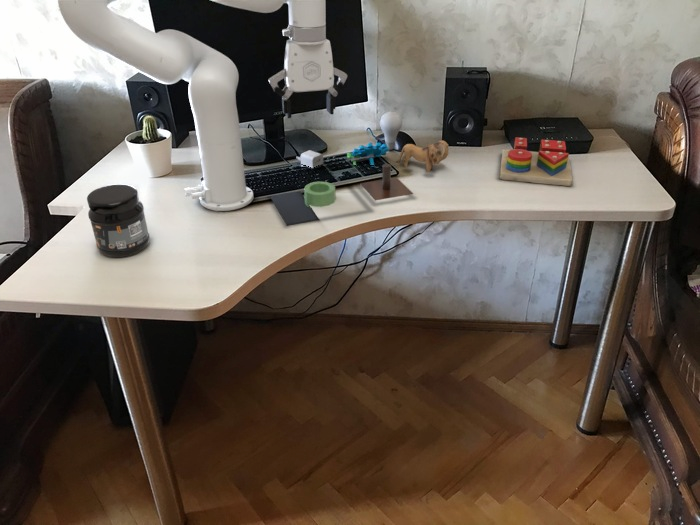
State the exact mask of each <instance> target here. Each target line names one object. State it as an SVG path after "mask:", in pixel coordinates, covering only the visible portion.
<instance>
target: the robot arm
mask: <svg viewBox="0 0 700 525" xmlns="http://www.w3.org/2000/svg"><path fill="white" fill-rule="evenodd" d="M120 1H121V0H57V4H58V8H59V11H60V14H61V16H62V19H63V20H64V22H65V24H66V26H67V27H68V28H69V30H70V31H71V32H72V33H73V34H74V35H75V36H76V37H77V38H78V39H79V40H81V41H82V42H83V43H84V44H87V45H88V46H89V47H92V49H93V48H94V49H95V50H97V51H99V52H101V53H103V54H105V55H107V56H109V57H111V58H112V59H115V60H116V61H118V62H120V63H122V64H124V65H126V67H127V66H128V67H129V68H131V69H133V70H135V71H137V72H138V73H140V74H143V75H145V76H146V77H148V78H149V79H152V80H153V81H156V82H157V83H160V84H163V85H173V84H176V83H178V82H179V81H180V80H184V81H185V82H187V83H189V84H188V99H189V103H190V107H191V108H190V109H191V112H192V115H193V120H194V126H195V132H196V138H197V143H198V150H199V157H200V164H201V171H202V177H203V180H201V184H198V185H197V186H195V187H194V186H193V187H185V188H184V194H185V197H191V199H192V200H196V199H199V203H200V205H201V206H202V207H204V208H205V209H207V210H211V211H215V212H228V211H234V210H239V209H242V208H244V207H247V206H248V205H249V204H251V203H252V201H253V200H254V191H253V190H252V189H251V188H250V187H248V186H247V184H246V175H245V174H246V173H245V165H244V156H243V147H242V146H243V145H242V137H241V128H240V119H239V113H238V108H237V99H236V98H237V97H236V96H237V94H236V93H237V89H238V85H239V78H240V77H239V76H240V74H239V71H238V68H237V66H236V64H235V63H234V62H233V60H232V59H230V58H229V57H228V56H227V55H225V54H223V53H222V52H220V51H218V50H217V49H215V48H212V47H211V46H209V45H208V44H206V43H204V42H202V41H200V40H198V39H197V38H194V37H193V36H191V35H189V34H187V33H185V32H183V31H180V30H176V29H170V28H168V29H163V30H160V31H157V32H155V31H153V30H150V29H148V28H146V27H145V26H142V25H140V24H139V23H138V22H137V21H134V20H132V19H130V18H127V17H125V16H123V15H120V14H117V13H115V12H114V11H113V10H111V9H110V8H111V7H113V6H114V5H115V4H117V3H118V2H120ZM210 1H212V2H215V3H217V4H221V5H224V6H228V7H231V8H235V9H240V10H246V11H250V12H256V13H260V14H261V13H263V14H268V13H274V12H276V11H278V10H280V9H281V7H282V6H283V5H284V4H287V5H288V24H287V25H288V26H287V28H282V31H281V32H282V36H283V37H288V38H289V39H287V40H286V44H285V49H284V50H285V51H284V64H283V69H282V70H280V71H279V72H277V73H276V74H274V75H272V76H271V77H269V78H268V82H269V84H270V86H271V88H272V90H273V92H274V93H275V94H276V95H278V97H280V98H281V105H282V107H281V108H282V113H283V115H285V116H286V118H287V119H291V118H292V101H291V99H290V97H291V96H292V95H293V93H304V92H305V93H306V92H307V93H308V92H318V91H327V93H326V112H328V114H330V115H334V113H335V112H334V110H336V98H337V96H338V94H339V92H340V91H341V90H342V89H343V88H344V85H345V83H346V80H347V79H348V74H347V73H346V72H344V71H343V70H340V69H338V68H337V67H334V62H333V60H334V59H333V52H332V46H331V41H330V40H329V39H327V35H326V34H327V25H326V24H327V23H326V20H327V18H326V17H327V16H326V15H327V14H326V12H327V11H326V9H327V8H326V0H210ZM335 76H336V77H338V79H337V81H336V82H335ZM283 79H284V84H285V85H284V87H283V89H281V87H280V86H279V84H278V83H279V82H280V81H281V80H282V81H283Z"/></svg>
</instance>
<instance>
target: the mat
mask: <svg viewBox="0 0 700 525" xmlns="http://www.w3.org/2000/svg"><path fill="white" fill-rule="evenodd" d="M269 197H270V199H271V201H272V202H273V204H274V206H275V207H276V209H277V212H278V213H279V215H280V216H281V218H282V220H283V221H284V224H285V225H286V226H293V225H299V224H304V223H310V222H316V221H320V218H319V217H318V215H317V214H316V212H315V211H314V209H313V208H312V207H311V208H309V207H307V206H306V204H305V196H304V194H303V193H302V192H301V191H299V190H298V191H293V192H288V193H287V192H286V193H281V194H275V195H270V196H269Z"/></svg>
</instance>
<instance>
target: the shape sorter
mask: <svg viewBox="0 0 700 525" xmlns="http://www.w3.org/2000/svg"><path fill="white" fill-rule="evenodd" d="M527 149H528V138H527V137H517V136H516V137H515V138H514V146H513V149H507V148H503V149H502V153H501V161H500V162H501V163H500V170H499V171H500V172H499V179H500V180H504V181H512V182H523V183H534V184H542V185H543V184H545V185H554V186H563V187H564V186H566V187H571V186H572V185H573V174H572V168H571V160H570V153H569V152H566V151H567V146H566V141H565V140H555V139H554V140H553V139H541V140H540V145H539V150H538V151H532V150H527Z"/></svg>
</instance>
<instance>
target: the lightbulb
mask: <svg viewBox="0 0 700 525" xmlns="http://www.w3.org/2000/svg"><path fill="white" fill-rule="evenodd" d="M379 126H380V128H381V131H382V133H383V135H384V142H385V144H387V147H388V149H389V151H392V150H394V149H395V148H396V142H397V138H398V134H399V132H400V131H401V129H402V126H403V119H402V117H401V116H400V114H399V113H398V112H395V111H387V112H385V113H384V114H383V115H382V116H381V118H380V120H379Z"/></svg>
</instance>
